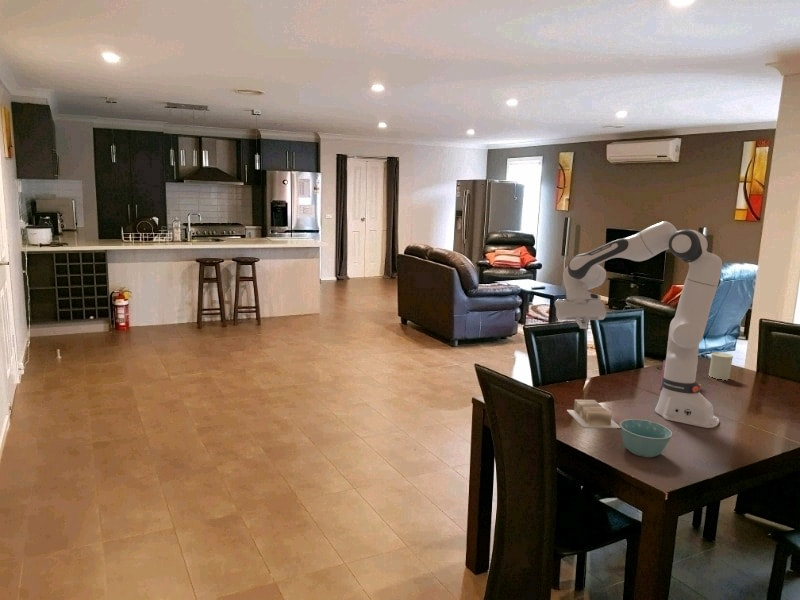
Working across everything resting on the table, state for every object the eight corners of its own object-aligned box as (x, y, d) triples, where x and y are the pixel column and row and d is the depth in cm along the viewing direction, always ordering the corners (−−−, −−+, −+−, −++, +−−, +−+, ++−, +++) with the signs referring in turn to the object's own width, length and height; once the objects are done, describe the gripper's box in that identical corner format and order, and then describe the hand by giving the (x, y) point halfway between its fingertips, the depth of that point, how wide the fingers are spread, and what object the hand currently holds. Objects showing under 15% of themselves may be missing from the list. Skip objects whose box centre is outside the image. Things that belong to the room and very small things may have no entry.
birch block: (574, 399, 228) (590, 414, 212) (594, 399, 229) (611, 414, 213) (573, 409, 229) (589, 424, 213) (593, 409, 229) (610, 425, 214)
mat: (566, 410, 228) (566, 409, 228) (601, 411, 229) (601, 410, 229) (582, 427, 211) (583, 426, 211) (620, 428, 212) (620, 427, 212)
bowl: (678, 462, 185) (682, 438, 184) (630, 462, 184) (634, 437, 183) (653, 442, 201) (656, 419, 199) (609, 441, 200) (612, 418, 198)
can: (713, 373, 292) (716, 350, 290) (732, 378, 285) (736, 354, 283) (704, 376, 286) (708, 352, 284) (724, 381, 279) (728, 357, 277)
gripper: (555, 295, 246) (560, 324, 239) (603, 295, 246) (610, 323, 239) (551, 303, 251) (557, 331, 244) (599, 303, 252) (605, 331, 244)
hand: (584, 327), depth 241 cm, fingers closed
